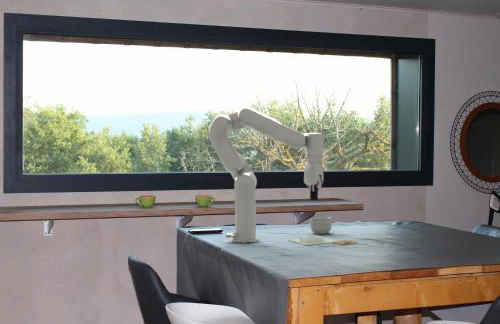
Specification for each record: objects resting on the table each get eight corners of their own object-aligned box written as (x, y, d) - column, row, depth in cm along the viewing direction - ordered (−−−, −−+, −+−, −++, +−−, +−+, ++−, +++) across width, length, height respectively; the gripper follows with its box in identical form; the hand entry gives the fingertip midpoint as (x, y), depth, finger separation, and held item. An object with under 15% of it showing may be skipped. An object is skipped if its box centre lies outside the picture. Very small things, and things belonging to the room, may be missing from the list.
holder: (338, 244, 298) (338, 242, 298) (332, 243, 302) (332, 241, 302) (357, 243, 302) (357, 241, 302) (351, 242, 306) (351, 239, 306)
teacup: (324, 235, 328) (324, 219, 328) (305, 233, 335) (305, 217, 335) (338, 232, 339) (338, 216, 339) (320, 230, 346) (320, 215, 346)
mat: (306, 245, 298) (306, 244, 298) (287, 240, 312) (287, 239, 312) (340, 242, 306) (339, 241, 306) (320, 237, 320) (320, 237, 320)
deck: (299, 241, 307) (306, 242, 301) (299, 236, 307) (306, 238, 301) (315, 239, 311) (323, 241, 306) (315, 235, 311) (323, 237, 305)
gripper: (298, 159, 312) (298, 199, 313) (316, 160, 299) (315, 201, 299) (312, 159, 315) (312, 198, 316) (330, 160, 302) (329, 201, 303)
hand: (313, 199), depth 308 cm, fingers closed
